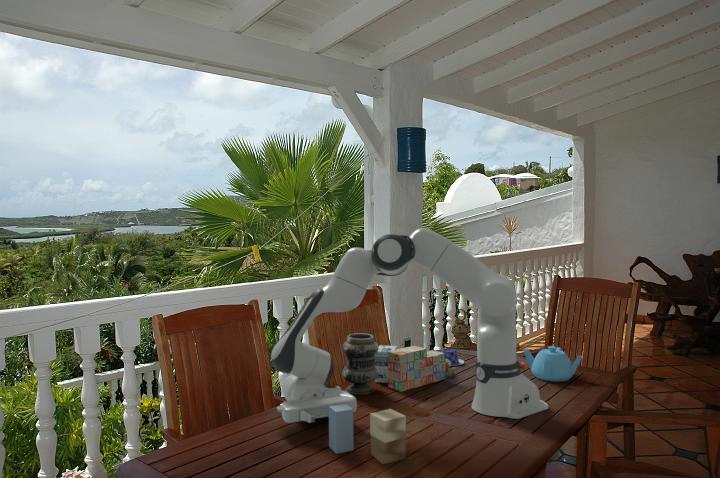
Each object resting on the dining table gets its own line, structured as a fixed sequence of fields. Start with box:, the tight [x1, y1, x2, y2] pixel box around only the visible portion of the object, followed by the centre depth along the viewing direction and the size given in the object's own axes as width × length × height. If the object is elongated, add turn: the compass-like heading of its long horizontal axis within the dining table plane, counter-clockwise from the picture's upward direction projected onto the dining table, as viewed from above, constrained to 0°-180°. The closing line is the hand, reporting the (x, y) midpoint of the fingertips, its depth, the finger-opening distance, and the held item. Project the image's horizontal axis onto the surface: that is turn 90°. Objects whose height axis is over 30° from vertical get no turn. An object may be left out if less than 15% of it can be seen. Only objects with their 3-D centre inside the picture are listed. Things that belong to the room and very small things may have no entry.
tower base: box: [370, 435, 407, 465], centre depth 130 cm, size 6×6×5 cm
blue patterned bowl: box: [440, 348, 465, 367], centre depth 216 cm, size 12×12×5 cm
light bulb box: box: [374, 344, 399, 384], centre depth 194 cm, size 11×7×11 cm, turn 168°
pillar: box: [328, 404, 354, 454], centre depth 134 cm, size 4×4×10 cm
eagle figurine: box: [445, 358, 456, 380], centre depth 198 cm, size 8×7×9 cm
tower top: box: [369, 408, 407, 443], centre depth 130 cm, size 6×6×5 cm
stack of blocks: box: [387, 345, 446, 393], centre depth 188 cm, size 21×6×12 cm, turn 128°
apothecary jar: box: [341, 332, 379, 396], centre depth 181 cm, size 12×12×18 cm
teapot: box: [523, 345, 583, 383], centre depth 195 cm, size 15×15×11 cm
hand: (329, 416), depth 141 cm, fingers open, 8 cm apart
